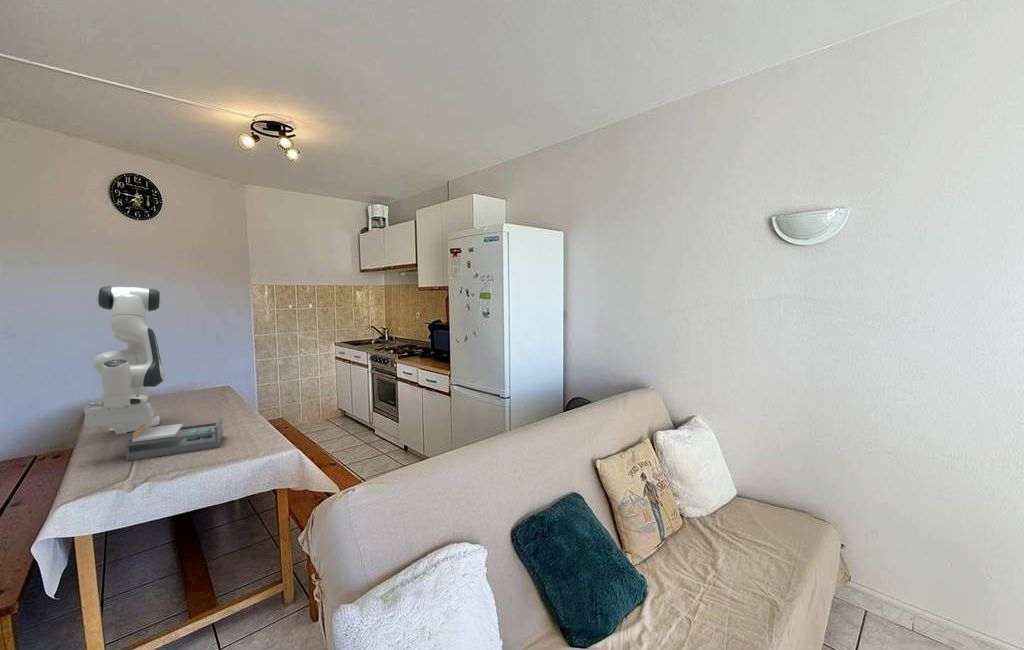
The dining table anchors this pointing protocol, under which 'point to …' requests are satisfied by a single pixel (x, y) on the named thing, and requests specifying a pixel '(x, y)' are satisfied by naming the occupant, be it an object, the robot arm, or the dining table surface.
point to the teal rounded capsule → (193, 433)
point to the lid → (156, 432)
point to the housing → (176, 442)
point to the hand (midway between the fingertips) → (121, 433)
